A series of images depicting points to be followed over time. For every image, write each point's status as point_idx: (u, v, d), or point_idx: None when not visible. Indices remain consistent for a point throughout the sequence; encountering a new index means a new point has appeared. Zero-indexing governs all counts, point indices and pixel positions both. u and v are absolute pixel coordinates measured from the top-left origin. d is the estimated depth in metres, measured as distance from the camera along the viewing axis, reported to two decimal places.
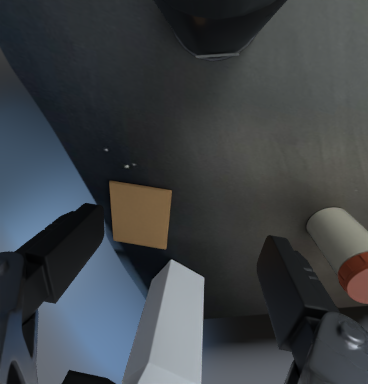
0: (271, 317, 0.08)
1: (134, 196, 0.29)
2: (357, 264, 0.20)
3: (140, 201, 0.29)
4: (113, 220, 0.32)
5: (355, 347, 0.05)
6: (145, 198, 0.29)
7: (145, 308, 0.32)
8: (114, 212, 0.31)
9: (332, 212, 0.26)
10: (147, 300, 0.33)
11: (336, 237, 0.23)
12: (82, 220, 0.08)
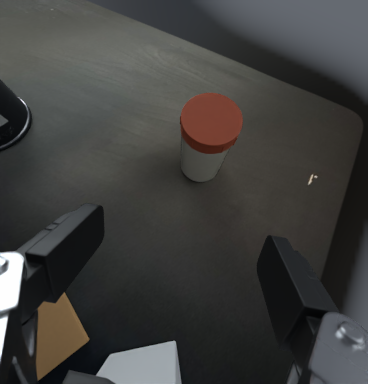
0: (271, 317, 0.08)
1: None
2: (181, 125, 0.19)
3: None
4: None
5: (355, 347, 0.05)
6: None
7: None
8: None
9: None
10: None
11: (181, 145, 0.23)
12: (82, 220, 0.08)
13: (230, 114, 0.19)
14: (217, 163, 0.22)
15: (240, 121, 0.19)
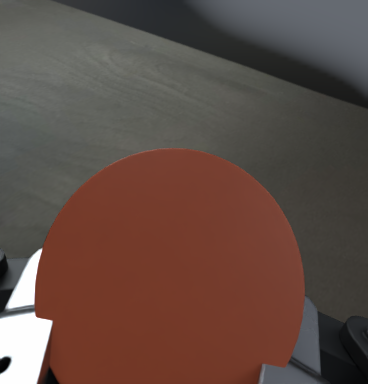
0: None
1: None
2: None
3: None
4: None
5: None
6: None
7: None
8: None
9: None
10: None
11: None
12: None
13: (248, 239, 0.05)
14: None
15: (294, 273, 0.04)
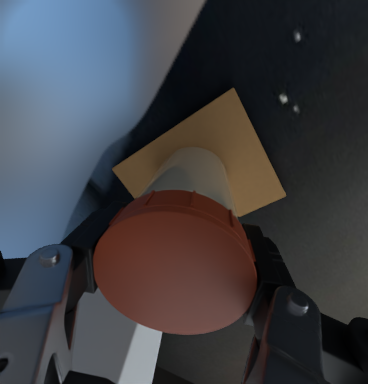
0: None
1: (236, 150, 0.15)
2: (168, 201, 0.07)
3: (232, 164, 0.15)
4: (154, 144, 0.15)
5: (298, 312, 0.05)
6: (245, 168, 0.15)
7: None
8: (173, 135, 0.15)
9: (213, 157, 0.14)
10: None
11: (186, 167, 0.10)
12: None
13: (180, 317, 0.08)
14: None
15: (160, 328, 0.08)
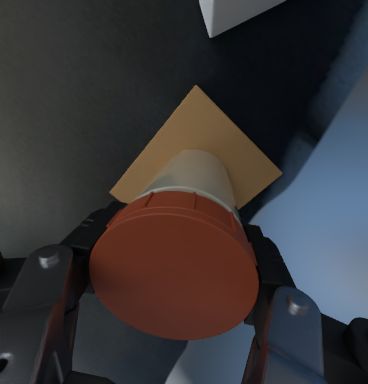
0: None
1: None
2: (168, 202, 0.06)
3: None
4: (237, 206, 0.17)
5: (299, 313, 0.05)
6: None
7: None
8: None
9: None
10: None
11: None
12: None
13: (179, 322, 0.08)
14: (228, 188, 0.10)
15: (159, 333, 0.08)
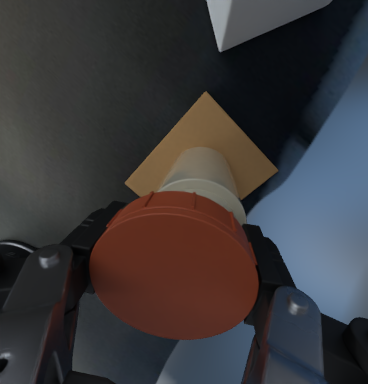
0: None
1: None
2: (168, 202, 0.06)
3: None
4: None
5: (299, 312, 0.05)
6: None
7: None
8: None
9: None
10: None
11: None
12: None
13: (179, 322, 0.08)
14: (233, 181, 0.12)
15: (159, 333, 0.08)
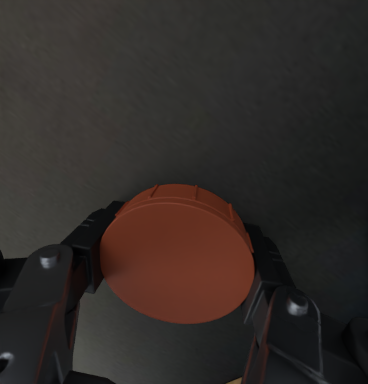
0: None
1: None
2: (171, 194, 0.07)
3: None
4: None
5: (298, 312, 0.05)
6: None
7: None
8: None
9: None
10: None
11: None
12: (115, 216, 0.09)
13: (181, 306, 0.08)
14: None
15: (162, 317, 0.09)
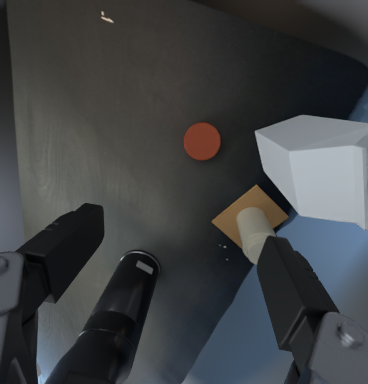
0: (271, 317, 0.08)
1: (236, 233, 0.39)
2: (201, 123, 0.31)
3: (236, 229, 0.39)
4: None
5: (355, 347, 0.05)
6: (231, 228, 0.39)
7: None
8: None
9: None
10: None
11: None
12: (82, 220, 0.08)
13: (203, 153, 0.33)
14: (273, 229, 0.32)
15: (197, 158, 0.33)
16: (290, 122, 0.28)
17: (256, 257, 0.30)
